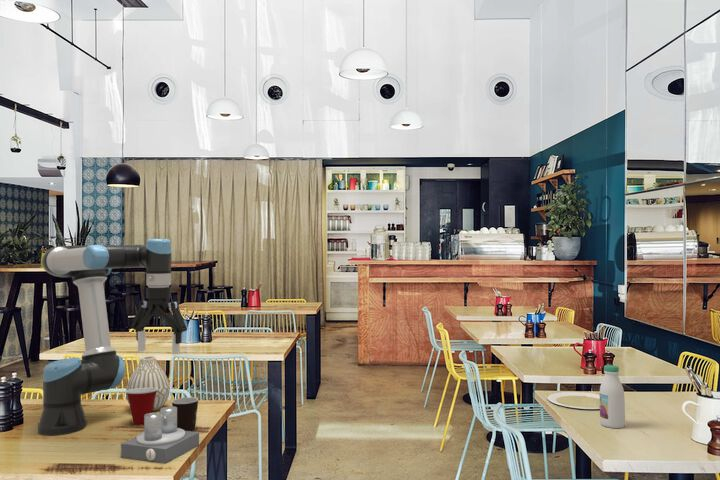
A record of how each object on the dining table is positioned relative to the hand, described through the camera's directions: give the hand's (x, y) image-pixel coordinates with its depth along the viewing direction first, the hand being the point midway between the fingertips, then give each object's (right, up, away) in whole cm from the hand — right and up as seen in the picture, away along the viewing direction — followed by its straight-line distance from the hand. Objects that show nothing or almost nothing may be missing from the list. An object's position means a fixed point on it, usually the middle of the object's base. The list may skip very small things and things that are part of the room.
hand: (158, 352), depth 184 cm
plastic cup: (-13, -29, +19) cm, 37 cm away
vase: (-17, -29, +37) cm, 50 cm away
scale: (+4, -28, -10) cm, 30 cm away
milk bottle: (+150, -27, +9) cm, 153 cm away
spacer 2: (+6, -23, -7) cm, 25 cm away
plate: (+151, -28, +39) cm, 159 cm away
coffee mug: (+6, -29, +12) cm, 31 cm away
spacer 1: (+3, -23, -14) cm, 27 cm away
